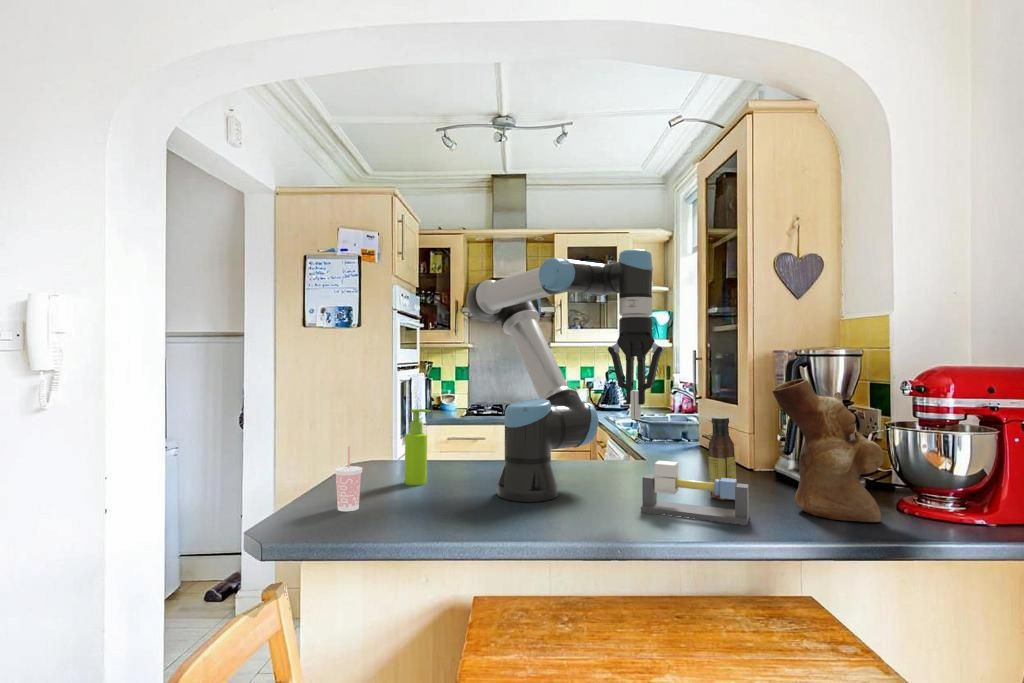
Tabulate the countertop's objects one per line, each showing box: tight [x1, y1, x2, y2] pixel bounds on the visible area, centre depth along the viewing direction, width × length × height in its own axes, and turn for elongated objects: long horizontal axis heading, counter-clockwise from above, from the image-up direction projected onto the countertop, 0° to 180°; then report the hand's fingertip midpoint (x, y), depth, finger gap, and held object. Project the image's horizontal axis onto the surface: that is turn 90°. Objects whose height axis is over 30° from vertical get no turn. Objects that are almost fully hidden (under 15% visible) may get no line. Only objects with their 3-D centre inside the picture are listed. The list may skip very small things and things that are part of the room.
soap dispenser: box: [404, 408, 432, 486], centre depth 154 cm, size 6×7×20 cm
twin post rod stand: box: [640, 473, 750, 526], centre depth 125 cm, size 22×7×8 cm, turn 64°
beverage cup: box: [334, 446, 363, 512], centre depth 129 cm, size 6×6×14 cm
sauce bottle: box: [707, 416, 737, 501], centre depth 140 cm, size 7×6×20 cm
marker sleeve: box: [654, 460, 679, 496], centre depth 128 cm, size 4×4×6 cm
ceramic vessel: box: [771, 378, 885, 523], centre depth 126 cm, size 16×22×30 cm
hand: (635, 418), depth 131 cm, fingers closed
